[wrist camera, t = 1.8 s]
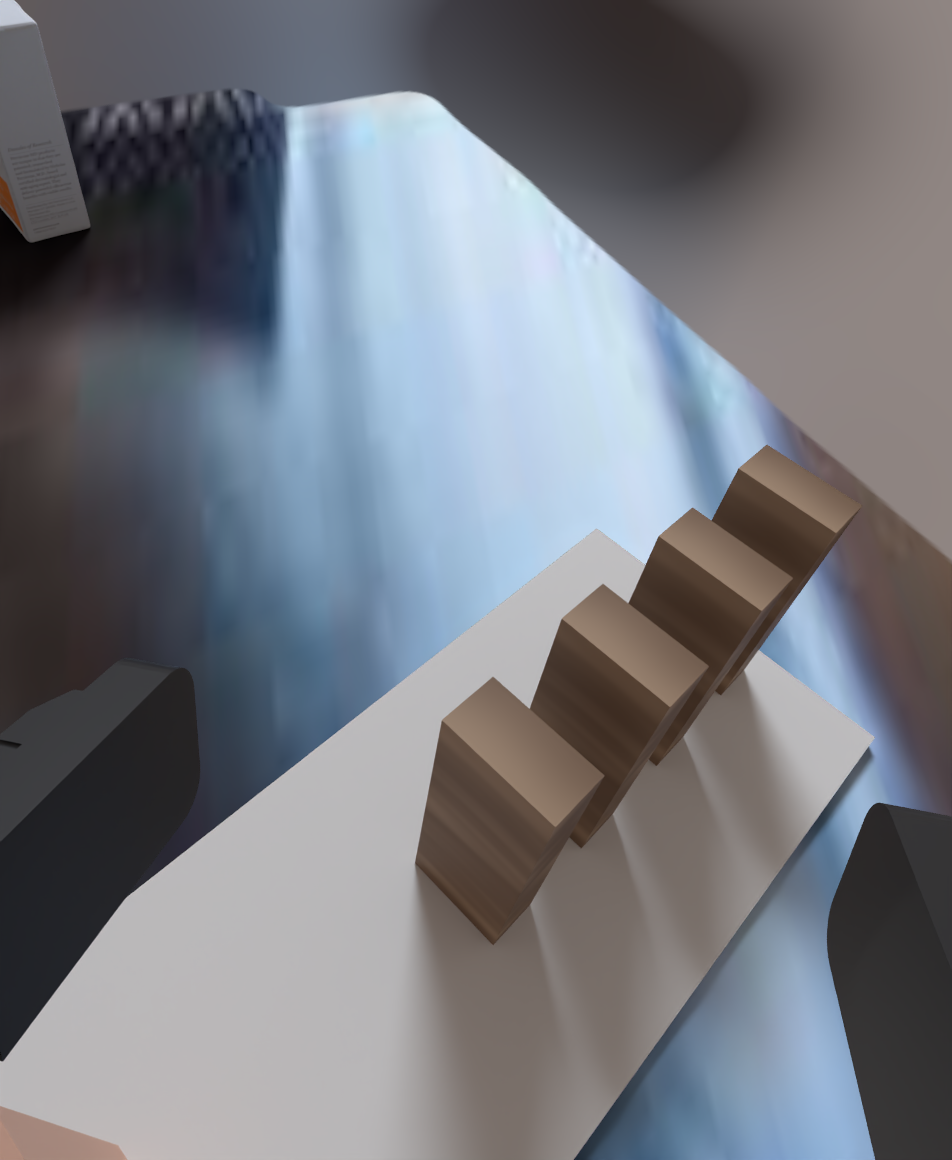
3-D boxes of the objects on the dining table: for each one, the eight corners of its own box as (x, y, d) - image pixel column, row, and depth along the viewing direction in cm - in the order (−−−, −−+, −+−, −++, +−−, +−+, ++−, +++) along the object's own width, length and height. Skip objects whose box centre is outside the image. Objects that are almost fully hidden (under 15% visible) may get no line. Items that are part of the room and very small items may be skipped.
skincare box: (-10, 202, 54) (-84, -11, 45) (55, 188, 56) (-3, -19, 47) (27, 246, 52) (-43, 30, 42) (94, 229, 54) (40, 20, 44)
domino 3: (656, 766, 34) (761, 611, 25) (582, 703, 35) (658, 535, 27) (683, 736, 35) (793, 578, 26) (610, 676, 36) (692, 507, 28)
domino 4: (720, 695, 36) (836, 533, 28) (649, 639, 38) (738, 468, 29) (744, 670, 37) (862, 505, 29) (674, 616, 39) (767, 444, 30)
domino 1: (493, 945, 29) (555, 827, 20) (414, 862, 30) (441, 719, 22) (530, 904, 30) (604, 775, 21) (452, 826, 31) (493, 676, 23)
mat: (225, 1641, 19) (222, 1652, 19) (-94, 1079, 25) (-102, 1076, 24) (868, 743, 36) (874, 737, 36) (593, 536, 42) (596, 528, 42)
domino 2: (581, 848, 31) (670, 707, 23) (505, 776, 33) (561, 618, 24) (612, 813, 32) (709, 666, 24) (537, 746, 34) (602, 583, 25)
